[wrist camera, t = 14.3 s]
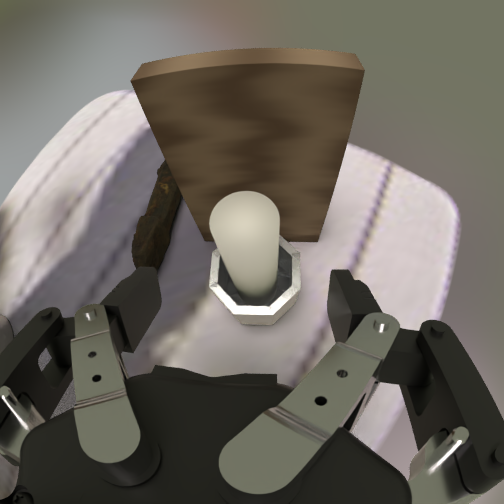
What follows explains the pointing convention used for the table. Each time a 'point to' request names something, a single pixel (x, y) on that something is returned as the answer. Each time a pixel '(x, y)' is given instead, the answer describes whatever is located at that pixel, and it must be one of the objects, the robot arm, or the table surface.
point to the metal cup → (284, 293)
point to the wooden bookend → (254, 128)
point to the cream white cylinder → (248, 243)
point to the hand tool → (156, 221)
